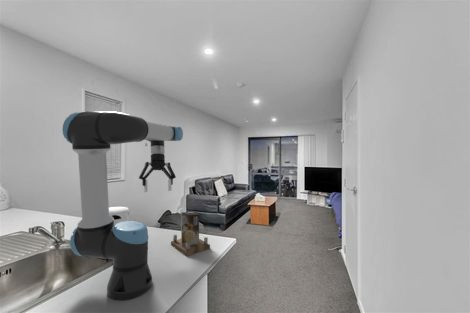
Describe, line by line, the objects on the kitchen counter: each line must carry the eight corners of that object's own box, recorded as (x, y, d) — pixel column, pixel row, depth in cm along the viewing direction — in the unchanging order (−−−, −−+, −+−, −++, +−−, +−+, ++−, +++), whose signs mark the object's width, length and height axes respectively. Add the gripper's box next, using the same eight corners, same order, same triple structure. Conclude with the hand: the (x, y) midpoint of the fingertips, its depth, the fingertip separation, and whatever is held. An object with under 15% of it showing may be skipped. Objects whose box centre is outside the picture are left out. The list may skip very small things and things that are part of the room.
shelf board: (186, 256, 107) (186, 245, 107) (170, 244, 120) (171, 234, 120) (209, 248, 116) (210, 238, 116) (193, 238, 129) (193, 229, 129)
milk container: (131, 234, 134) (131, 205, 134) (129, 245, 118) (129, 212, 118) (98, 238, 127) (98, 207, 127) (91, 250, 111) (92, 215, 111)
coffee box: (197, 240, 122) (198, 211, 122) (199, 244, 116) (199, 214, 116) (180, 241, 120) (181, 212, 119) (181, 246, 113) (181, 215, 113)
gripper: (175, 156, 137) (176, 190, 134) (132, 154, 121) (132, 192, 118) (180, 154, 131) (181, 189, 128) (136, 151, 116) (136, 192, 112)
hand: (158, 191), depth 123 cm, fingers open, 13 cm apart
